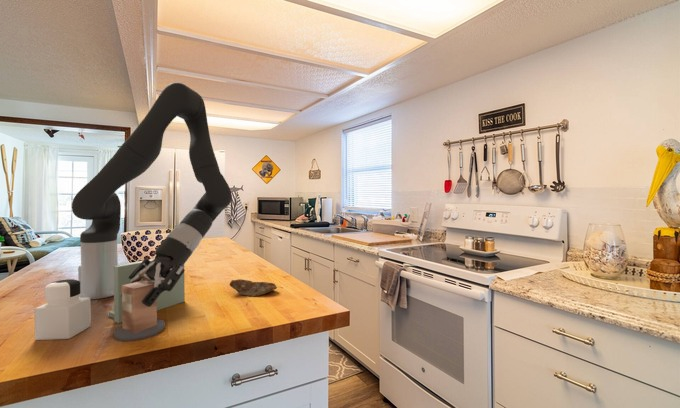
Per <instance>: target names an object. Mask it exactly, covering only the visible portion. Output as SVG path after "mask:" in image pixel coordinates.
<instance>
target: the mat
mask: <svg viewBox="0 0 680 408" xmlns="http://www.w3.org/2000/svg"><path fill="white" fill-rule="evenodd" d="M165 324H166V323H165V320H163V319H160V318H157V325H156V326H153V327H150V328H147V329H145V330H142V331H139V332H136V333H133V332H131V331H128V330H125V329H123V324H122V325H120V326H118V327H117V328H116V329H115V330H114V331H113V339H115V340H117V341H120V342H133V341H140V340H144V339H148V338H151V337H154V336H156V335H158V334H161V332H163V331H164V330H165V328H166V325H165Z"/></svg>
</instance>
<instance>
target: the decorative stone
mask: <svg viewBox="0 0 680 408" xmlns="http://www.w3.org/2000/svg"><path fill="white" fill-rule="evenodd" d="M229 286H230V287H231V288H232V289H233V290H235V291H236V292H238V293H239V294H240V295H242V296H248V297H255V298H256V297H261V296H263V295H265V294H268V293H269V292H272V291H274V290H277V288H278V286H277V285H276V284H275V283H274V282H269V281H268V282H267V281H252V280H248V279H242V278H241V279H231V281H230V282H229Z"/></svg>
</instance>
